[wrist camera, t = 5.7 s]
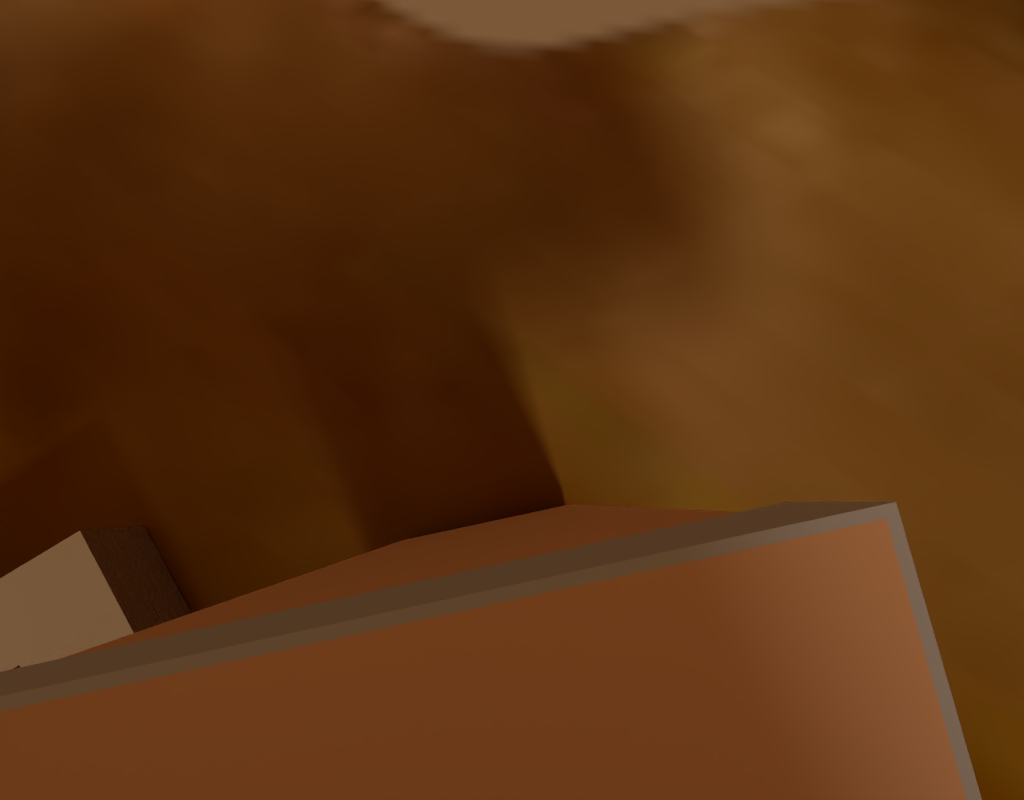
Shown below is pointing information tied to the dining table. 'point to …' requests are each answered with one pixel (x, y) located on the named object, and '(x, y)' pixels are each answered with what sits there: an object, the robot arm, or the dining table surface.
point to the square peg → (526, 672)
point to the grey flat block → (85, 596)
